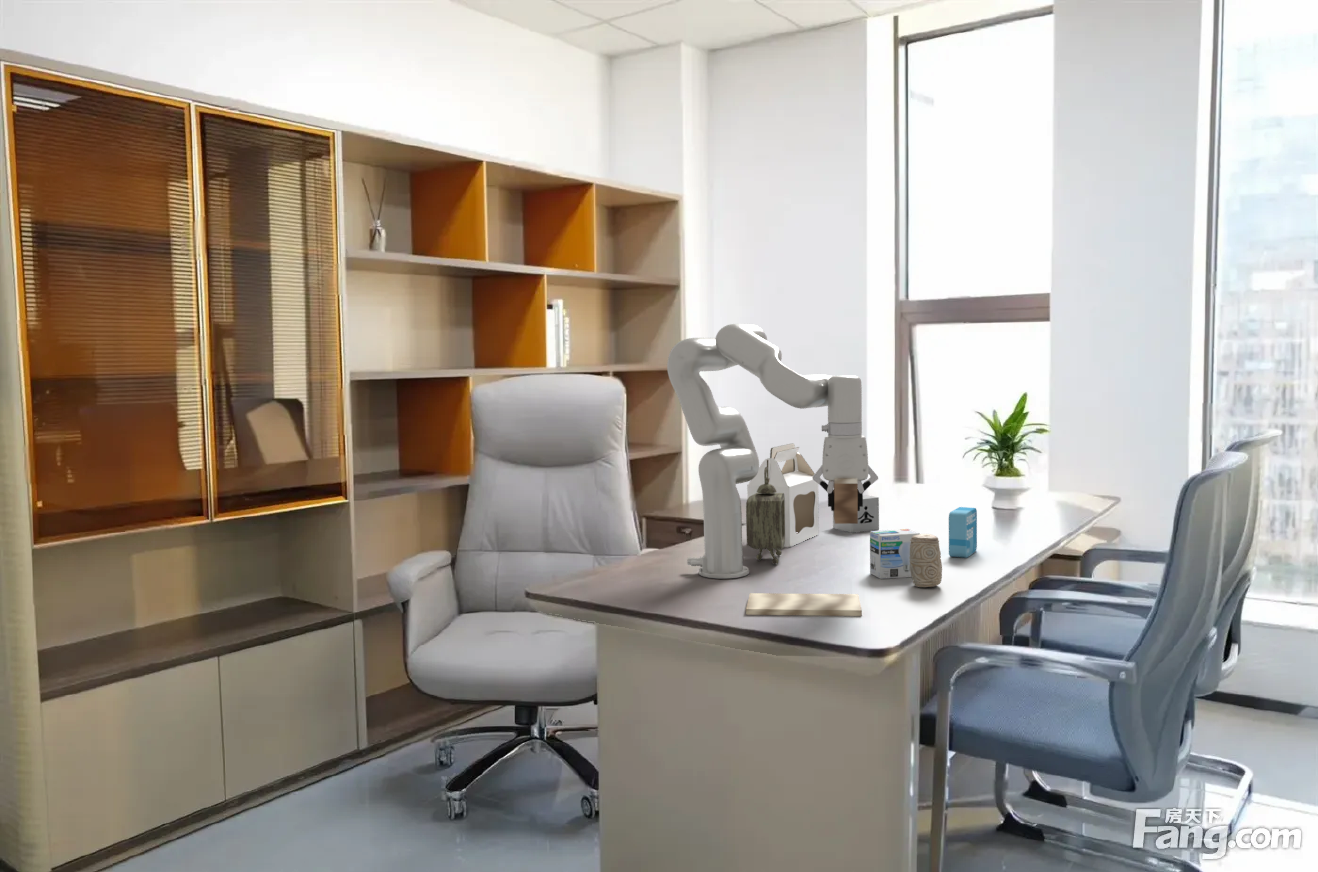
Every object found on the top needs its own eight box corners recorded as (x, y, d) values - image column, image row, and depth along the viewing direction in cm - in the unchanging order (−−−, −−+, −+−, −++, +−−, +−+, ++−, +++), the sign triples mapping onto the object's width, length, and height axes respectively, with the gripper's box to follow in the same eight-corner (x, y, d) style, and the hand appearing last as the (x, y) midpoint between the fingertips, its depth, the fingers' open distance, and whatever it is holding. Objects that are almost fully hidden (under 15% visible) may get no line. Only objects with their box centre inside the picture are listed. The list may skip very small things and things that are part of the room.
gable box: (789, 548, 280) (788, 449, 278) (747, 544, 287) (745, 448, 285) (819, 534, 299) (818, 442, 297) (779, 531, 306) (777, 441, 304)
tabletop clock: (781, 566, 256) (779, 470, 254) (746, 565, 258) (744, 470, 256) (785, 555, 270) (784, 464, 268) (752, 554, 272) (750, 464, 270)
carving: (916, 582, 235) (916, 532, 234) (947, 585, 230) (946, 534, 229) (904, 587, 230) (904, 536, 229) (935, 591, 225) (935, 539, 224)
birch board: (746, 614, 209) (746, 609, 209) (749, 598, 223) (749, 593, 223) (861, 616, 206) (861, 610, 205) (858, 599, 219) (858, 594, 219)
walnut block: (834, 523, 221) (834, 479, 220) (833, 516, 230) (833, 474, 229) (857, 523, 220) (857, 479, 219) (855, 516, 229) (855, 474, 228)
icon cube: (833, 528, 310) (832, 496, 309) (859, 525, 314) (858, 493, 313) (852, 532, 301) (852, 500, 300) (879, 529, 305) (878, 497, 304)
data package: (965, 559, 259) (965, 513, 258) (948, 557, 261) (948, 512, 260) (977, 550, 269) (977, 507, 268) (960, 549, 271) (960, 506, 270)
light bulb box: (880, 579, 238) (879, 535, 237) (868, 573, 245) (868, 530, 244) (921, 576, 240) (921, 532, 239) (909, 570, 247) (908, 528, 246)
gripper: (806, 432, 221) (807, 512, 222) (884, 431, 218) (885, 512, 220) (806, 429, 228) (807, 507, 230) (882, 428, 226) (882, 507, 227)
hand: (845, 509), depth 225 cm, fingers closed on walnut block, 5 cm apart
